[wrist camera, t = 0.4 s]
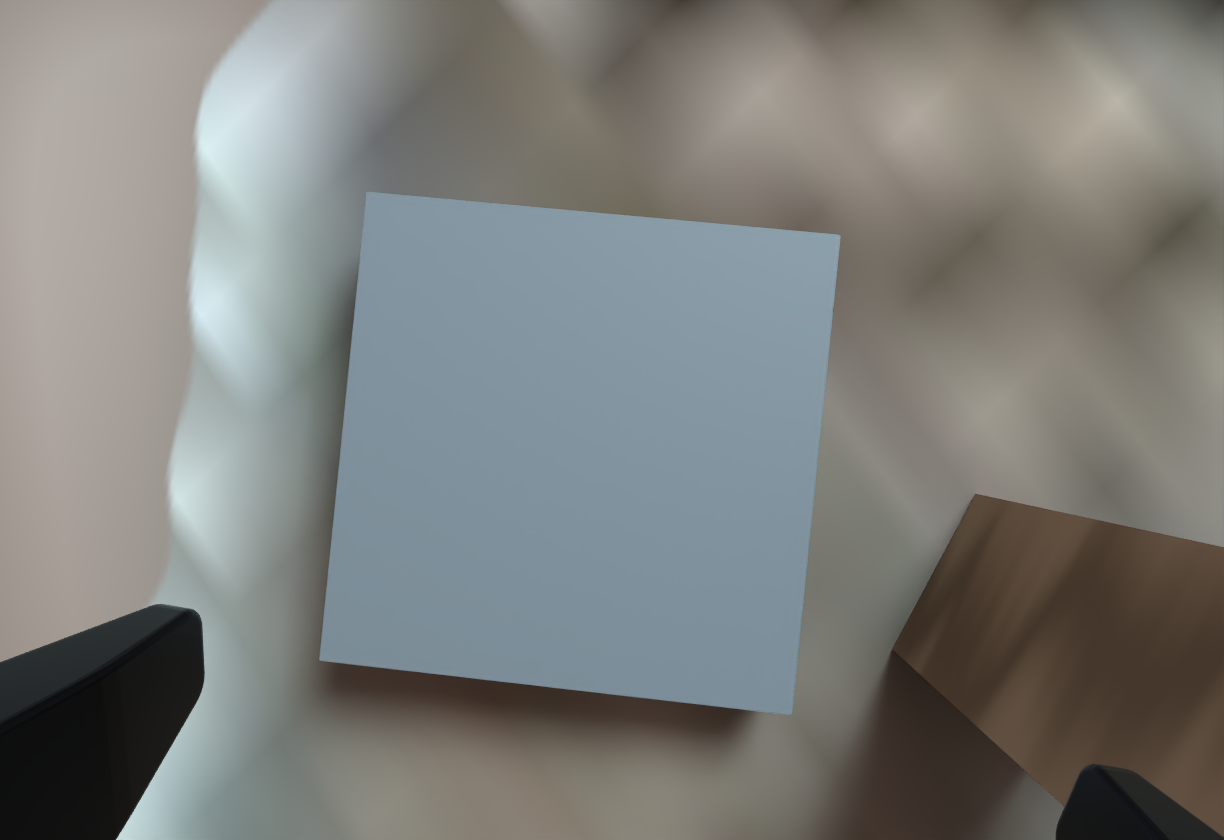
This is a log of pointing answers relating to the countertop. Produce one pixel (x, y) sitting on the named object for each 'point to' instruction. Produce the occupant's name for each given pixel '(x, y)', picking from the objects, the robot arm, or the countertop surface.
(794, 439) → the plinth
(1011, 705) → the walnut block
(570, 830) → the countertop surface
